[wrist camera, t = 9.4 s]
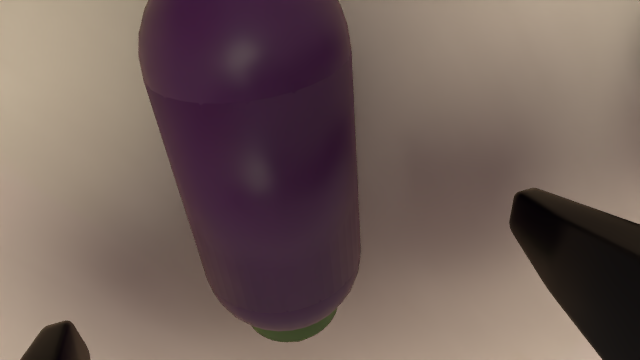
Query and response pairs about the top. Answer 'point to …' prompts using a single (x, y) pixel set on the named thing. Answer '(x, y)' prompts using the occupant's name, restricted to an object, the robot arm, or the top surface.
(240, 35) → the eggplant
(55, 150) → the top surface
